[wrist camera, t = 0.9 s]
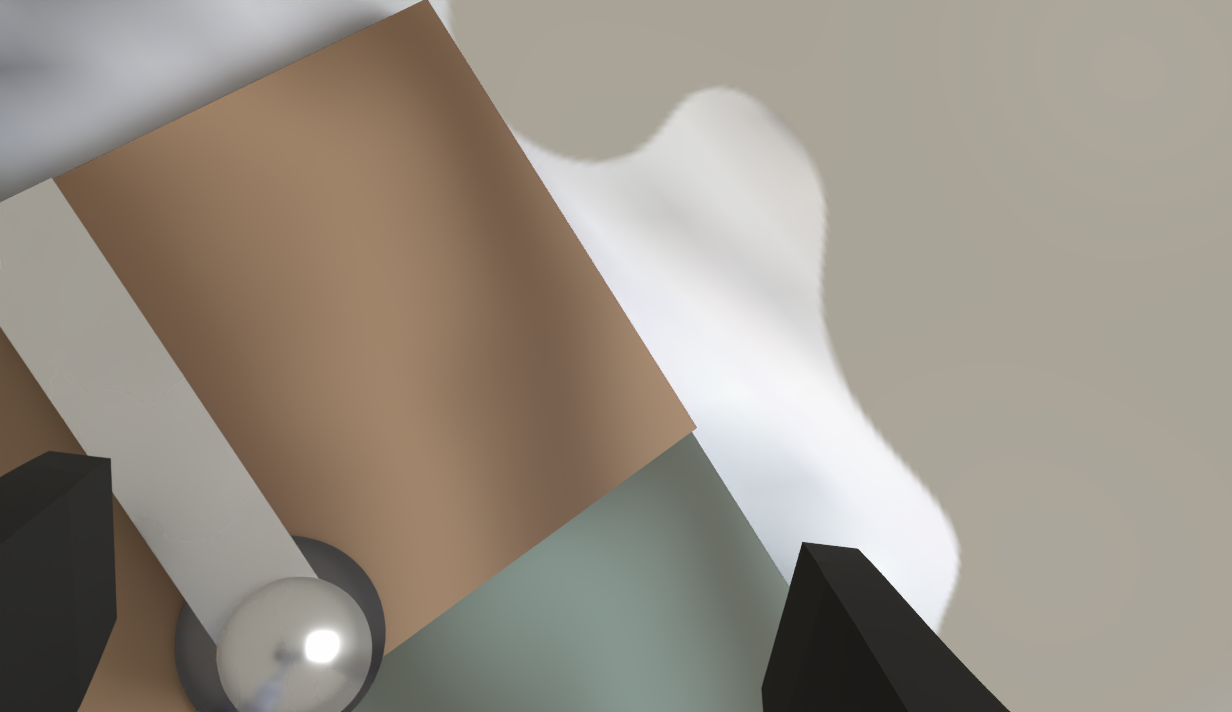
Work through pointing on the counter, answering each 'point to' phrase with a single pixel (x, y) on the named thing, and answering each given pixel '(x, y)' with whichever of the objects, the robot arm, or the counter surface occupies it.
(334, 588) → the lock bar
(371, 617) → the plates
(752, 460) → the counter surface
